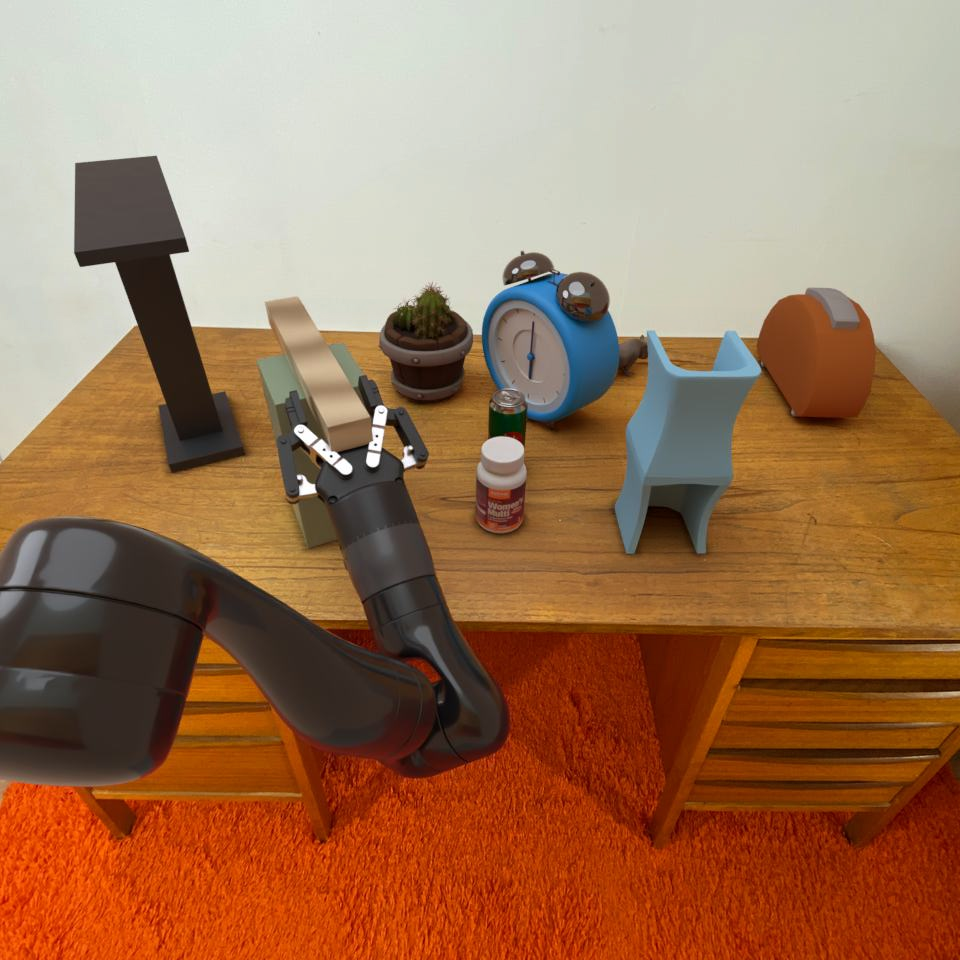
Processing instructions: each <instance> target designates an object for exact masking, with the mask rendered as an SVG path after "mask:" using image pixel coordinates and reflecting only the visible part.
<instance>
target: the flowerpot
mask: <svg viewBox="0 0 960 960" xmlns="http://www.w3.org/2000/svg"><path fill="white" fill-rule="evenodd" d="M433 283H434V282H433V281H432V282H431V283H430V282H429V281H427V284H428V285H426V287H422V289H420V291H419V294H418V295H416V294H414V296H412V297H414V298H413V299H411V298H409V299H408V301H407V300H406V298H404V297H403V303H404V304H403V306H402V302H401V303H400V302H399V304H398V306H397V307H393V310H395V311H393V312H392V313H390V314H389V315H388V317H387V319H386V321H385V324H384V325H383V326H382V328H381V329H380V331H379V338H378V340H379V341H378V345H377V346H378V348H379V349H380V350H381V352H382V353H383V354H384V355H385V356H386V357H387V358H389V361H390V365H391V368H392V370H391V372H390V377H391V385H392V386H393V387H394V388H395V390H396V391H397V392H398V393H400V395H401V396H402V397H403V398H405V399H408V401H411V402H414V403H419V404H433V403H436V402H438V403H443V402H446V401H448V400H451V399H452V398H453V397H454V396H456V394H457V393H458V391H459V390H460V389H461V388H462V387H463V386H462V385H463V383H464V379H465V376H466V370H465V367H464V365H465V360H466V356H467V355H468V354H469V353H470V352H471V350H472V347H473V344H474V332H473V330H474V329H473V327H472V326H471V325H470V324H469V322H467V321H466V320H465V319H464V318H463V317H462V316H461V315H460V314H459V313H457V312H456V311H454V310H453V309H452V307H450V305H451V302H450V298H448V295H446V293H445V294H444V290H441V286H436V285H437V284H438V282H436V283H435V284H434V286H433ZM442 293H443V294H442ZM410 301H411V302H412V304H413V305H412V304H409V302H410Z"/></svg>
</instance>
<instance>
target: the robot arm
mask: <svg viewBox="0 0 960 960" xmlns="http://www.w3.org/2000/svg"><path fill="white" fill-rule="evenodd" d="M358 387H359V390H360V393H361V396H362V398H363V401H364V404H365V406H366V409H367V412H368V414H369V415H370V417H372V418H373V425H372V434H373V441H372V442H369V444H367V445H363V446H359V447H355V448H352V449H348V450H344V451H340V452H335V451H333V452H332V451H331V449H330V446H329V445H328V444H327V443H326V442H325V441H323V440H322V439H321V438H318V437H317V436H316V435H314V434H313V433H312V432H311V431H310V430H309V429H308V422H307V419H306V416H305V413H304V410H303V407H302V404H301V401H300V398H299V395H298V392H297V390H294V391H290V392H289V398H286V399H285V409H286V413H287V416H288V419H289V422H290V425H291V428H292V430H291V432H290V433H288V434H287V435H281V436H279V437H278V438H277V440H275V443H276V442H277V444H276V449H277V456H278V461H279V466H280V472H281V476H282V482H283V487H284V493H285V498H286V502H287V503H288V504H290V505H292V504H297V503H298V502H299V501H300V499H305V498H310V497H316V496H317V497H318V498H319V499H320V500H321V501H322V502H323V503H324V504H325V506H326V508H327V511H328V514H329V517H330V520H331V523H332V526H333V529H334V532H335V535H336V538H337V540H336V541H337V545H338V547H339V549H340V552H341V555H342V558H343V559H342V560H343V561H342V562H343V565H344V568H345V570H346V571H347V573H348V576H349V579H350V582H351V584H352V587H353V588H354V591H355V592H356V594H357V596H358V598H359V600H360V604H361V605H362V609H363V611H364V615H365V618H366V620H367V623H368V626H369V629H370V632H371V636H372V639H373V641H374V644H375V647H376V650H377V651H374V650H371V649H368V648H366V647H362V646H360V645H357V644H355V643H353V642H351V641H348V640H346V639H344V638H342V637H340V636H338V635H337V634H334V633H332V632H331V631H330V630H327V629H326V628H324V627H323V626H320V625H319V624H318V623H316V622H314V621H313V620H311V619H310V618H308V617H306V616H305V615H304V614H303V613H301V612H299V611H298V610H296V609H295V608H293V607H291V606H290V605H288V604H287V603H285V602H284V601H282V600H281V599H279V598H278V597H276V596H275V595H273V594H271V593H270V592H268V591H266V590H264V589H262V588H261V587H259V586H258V585H256V584H254V583H253V582H251V581H249V580H248V579H246V578H244V577H243V576H241V575H239V574H238V573H236V572H234V571H232V570H231V569H229V567H228V568H227V566H224V565H223V564H221V563H220V562H218V561H216V560H214V559H213V558H211V557H209V556H207V555H206V554H204V553H203V552H200V551H198V550H196V549H194V547H193V548H192V547H191V546H189V545H186V544H184V543H182V542H180V541H178V540H176V539H173V538H170V537H168V536H166V535H164V534H160V533H158V532H155V531H153V530H150V529H147V528H145V527H141V526H137V525H134V524H130V523H125V522H121V521H117V520H113V519H109V518H100V517H95V516H94V517H93V516H81V515H79V516H78V515H61V516H59V515H58V516H51V517H44V518H40V519H36V520H32V521H30V522H28V523H26V524H24V525H21V526H20V527H19V528H17V530H15V531H14V532H13V533H12V535H11V536H10V537H9V538H8V540H7V541H6V543H5V545H4V547H3V549H2V550H1V552H0V781H4V782H5V781H6V782H12V783H13V782H14V783H21V784H28V785H36V786H37V785H38V786H46V787H63V788H96V787H97V788H99V787H100V788H101V787H112V786H119V785H123V784H127V783H131V782H134V781H137V780H141V779H144V778H146V777H148V776H150V775H152V774H153V773H155V772H156V771H157V770H159V769H160V768H161V767H162V766H163V765H164V764H165V762H166V761H167V759H168V757H169V755H170V753H171V750H172V748H173V746H174V743H175V741H176V739H177V735H178V732H179V729H180V725H181V721H182V718H183V714H184V710H185V708H186V707H185V706H186V703H187V698H188V697H189V693H190V690H191V686H192V682H193V679H194V674H195V671H196V667H197V664H198V660H199V656H200V651H201V648H202V646H203V645H202V644H203V641H204V637H205V638H206V639H207V640H209V641H212V642H213V643H214V644H216V645H217V646H218V647H220V648H221V649H222V650H224V651H225V652H226V653H227V655H229V656H230V657H231V658H232V659H233V660H234V661H235V662H236V664H237V665H239V666H240V667H241V668H242V670H243V671H244V672H245V673H246V675H247V676H248V677H249V678H250V679H251V681H252V682H253V684H254V685H255V686H256V687H257V689H258V690H259V691H260V693H261V694H262V696H263V697H264V698H265V699H266V701H267V702H268V704H269V705H270V706H271V708H272V709H273V711H274V712H275V713H276V715H277V716H278V717H279V718H280V720H281V721H282V722H283V723H284V724H285V725H286V727H287V728H288V729H289V730H290V731H292V733H293V734H294V735H296V736H297V737H298V738H299V739H300V740H302V741H303V742H305V743H307V744H308V745H310V746H312V747H314V748H315V749H317V750H320V751H322V752H324V753H329V754H333V755H338V756H346V757H351V758H358V759H359V758H360V759H366V760H375V761H377V762H378V763H379V764H381V765H382V766H384V767H386V768H387V769H389V770H390V771H391V772H393V773H395V774H396V775H398V776H400V777H402V778H404V779H412V780H413V779H415V780H416V779H427V778H432V777H435V776H438V775H441V774H444V773H446V772H448V771H452V770H455V769H457V768H460V767H462V766H463V767H464V766H465V765H467V764H471V763H473V762H476V761H479V760H482V759H485V758H488V757H490V756H492V755H494V754H496V753H497V752H499V751H500V750H501V749H503V747H504V746H505V744H506V742H507V741H508V737H509V734H510V729H511V728H510V727H511V716H510V709H509V704H508V701H507V699H506V697H505V694H504V693H503V691H502V688H501V687H500V686H499V684H498V682H497V681H496V679H495V678H494V677H493V676H492V674H491V672H490V671H489V670H488V669H487V667H486V666H485V665H484V663H483V662H482V661H481V660H480V658H479V657H478V655H477V654H476V652H475V651H474V649H473V648H472V647H471V645H470V643H469V642H468V640H467V639H466V637H465V636H464V634H463V633H462V631H461V629H460V628H459V626H458V624H457V623H456V621H455V620H454V618H453V616H452V613H451V611H450V608H449V605H448V602H447V599H446V597H445V595H444V592H443V589H442V587H441V583H440V581H439V578H438V576H437V572H436V569H435V565H434V561H433V556H432V552H431V549H430V546H429V544H428V541H427V538H426V535H425V533H424V531H423V528H422V525H421V523H420V520H419V517H418V514H417V512H416V509H415V505H414V503H413V501H412V498H411V496H410V493H409V491H408V488H407V485H406V483H405V479H404V473H405V472H407V471H410V470H412V469H416V470H422V469H424V468H425V467H426V465H427V462H428V459H429V457H430V452H429V450H428V448H427V446H426V445H425V442H424V441H423V439H422V436H421V434H420V433H419V431H418V429H417V427H416V426H415V423H414V421H413V420H412V418H411V416H410V414H409V412H408V410H407V408H406V407H404V406H398V407H396V408H391V407H387V406H386V405H385V403H384V400H383V397H382V395H381V393H380V390H379V388H378V385H377V382H376V381H375V380H374V379H373V378H372V379H369V378H368V375H367V374H364V375H363V376H359V380H358ZM387 426H388V427H393V429H394V430H395V432H396V434H397V436H398V438H399V440H400V442H401V444H402V446H403V447H404V448H403V450H402V454H401V455H402V459H400V458H399V457H397V456H396V455H394V454H393V453H392V452H390V451H389V450H387V449H386V448H384V447H383V442H384V436H385V430H386V427H387ZM298 448H300V449H301V450H302V451H303V452H305V453H306V454H307V455H308V456H309V457H310V459H311V461H312V462H313V463H314V464H315V465H316V466H317V467H319V468H320V472H319V475H318V477H317V480H316V482H315V484H311V483H309V482H308V481H307V479H306V477H305V476H304V475H297V474H296V468H295V463H294V458H293V453H292V452H293V451H295V450H296V449H298ZM414 661H423V662H425V663H427V665H429V666H430V667H431V668H432V669H433V670H434V671H435V673H436V674H437V675H438V676H439V678H440V679H438V680H435V681H433V682H431V681H430V679H429V678H428V676H427V675H426V674H425V673H424V672H422V671H421V670H420V669H419V668H417V667H415V666H413V665H411V664H410V663H409V662H414Z"/></svg>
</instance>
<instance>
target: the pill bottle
mask: <svg viewBox="0 0 960 960" xmlns="http://www.w3.org/2000/svg"><path fill="white" fill-rule="evenodd" d="M475 475H476V479H475V519H476V521H477V523H478V525H479V526H480V527H481V528H482V529H483V530H485V531H487V532H489V533H493V534H507V533H511V532H514V531H515V530H517V529H519V527H520V526H521V524H522V523H523V521H524V514H525V501H526V492H527V491H526V489H527V478H528V473H527V466H526V465H525V449H524V447H523V445H522V444H521V443H520V442H519V441H518V440H516V439H513V438H510V437H494V438H491V439H489V440H488V439H487V440H486V441H485V442H484V443H483V444H482V446H481V449H480V461H479V463H478V464H477V467H476V473H475Z"/></svg>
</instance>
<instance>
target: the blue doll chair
mask: <svg viewBox="0 0 960 960" xmlns="http://www.w3.org/2000/svg"><path fill="white" fill-rule="evenodd" d="M646 342H647V346H648V358H647V379H646V387H645V390H644V392H643V396H642V398H641V401H640V403H639V405H638V407H637V409H636V411H635V412H634V414H633V415H632V417H631V418H630V420H629V421H628V422H627V424H626V427H625V445H626V469H625V472H626V473H625V477H624V482H623V485H622V487H621V491H620V493H619V496H618V497H617V500H616V502H615V504H614V513H615V517H616V520H617V523H618V527H619V528H618V529H619V531H620V535H621V539H622V543H623V546H624V547H623V548H624V550H625V554H626V555H635V553H636V550H637V548H638V543H639V542H640V538H641V534H642V530H643V528H644V524H645V520H646V517H647V512H648V508H649V507H665V508H669V509H671V510H673V511H676V512H678V513H679V514H681V516H682V518H683V521H684V524H685V526H686V528H687V532H688V534H689V537H690V539H691V541H692V545H693V547H694V550H695V552H696V554H697V555H699V554H707V535H708V534H707V533H708V526H709V522H710V518H711V515H712V513H713V510H714V509H715V508H716V505H717V504H718V502H719V501H720V499H721V498H722V496H723V495H724V493H725V492H726V491H727V490H728V489H729V487H730V486H731V485H732V481H733V479H734V467H733V456H732V455H733V454H732V453H733V452H732V448H733V447H732V443H733V434H734V428H735V423H736V422H737V418H738V416H739V412H740V411H741V408H742V406H743V404H744V402H745V401H746V399H747V397H748V395H749V393H750V392H751V390H752V389H753V387H754V386H755V384H756V383H757V381H758V379H759V377H760V376H761V374H762V368H761V366H760V364H759V363H758V361H757V360H756V358H755V357H754V356H753V353H752V352H751V351H750V350H749V348H748V347H747V345H746V343H744V341H743V339H742V338H741V337H740V335H739V334H738V333H737V331H736V330H726V331H725V333H724V334H723V337H722V340H721V342H720V344H719V345H720V346H719V348H718V351H717V354H716V356H715V360H714V361H713V362H714V363H713V366H712V368H711V370H709V371H708V370H689V369H684V368H682V367H679V366H677V365H674V364H673V363H672V362H671V360H670V358H669V357H668V354H667V353H666V350H665V348H664V346H663V345H662V342H661V340H660V338H659V336H658V334H657V332H656V330H655V329H654V330H653V329H652V330H646Z"/></svg>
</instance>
